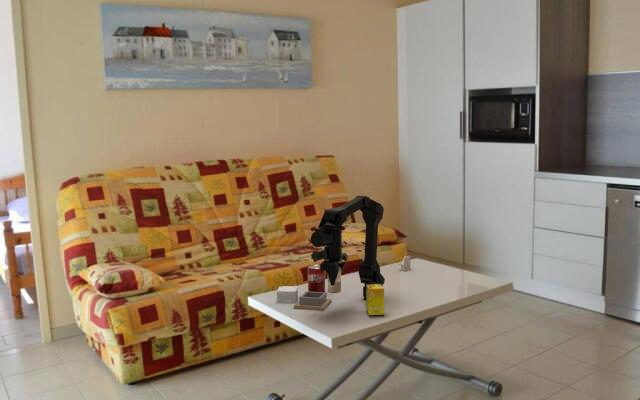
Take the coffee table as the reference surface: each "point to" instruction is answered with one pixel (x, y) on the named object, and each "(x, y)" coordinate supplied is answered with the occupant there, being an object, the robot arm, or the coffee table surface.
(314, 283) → the soda can
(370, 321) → the coffee table surface
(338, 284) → the maple peg
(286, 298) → the small box
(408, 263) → the architectural model
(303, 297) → the sleeve socket
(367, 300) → the supplement box
